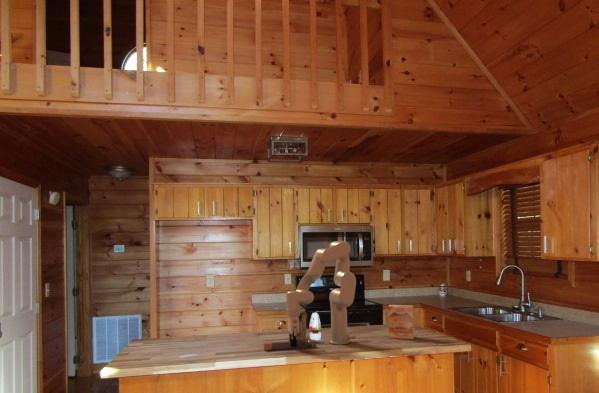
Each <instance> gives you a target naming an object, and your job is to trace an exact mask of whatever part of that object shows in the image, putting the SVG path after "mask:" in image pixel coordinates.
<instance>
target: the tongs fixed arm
mask: <svg viewBox="0 0 599 393" xmlns="http://www.w3.org/2000/svg"><path fill="white" fill-rule="evenodd" d="M310 340H311V341H312V347H311V348H312V349H313V348H317V341H316V339H310ZM299 341H307V340H306V339H304V340H299ZM277 342H278V341H272V342H267V341H266V342H265V343H277ZM284 342H291V341H289V340H288V341H285V340H284Z"/></svg>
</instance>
